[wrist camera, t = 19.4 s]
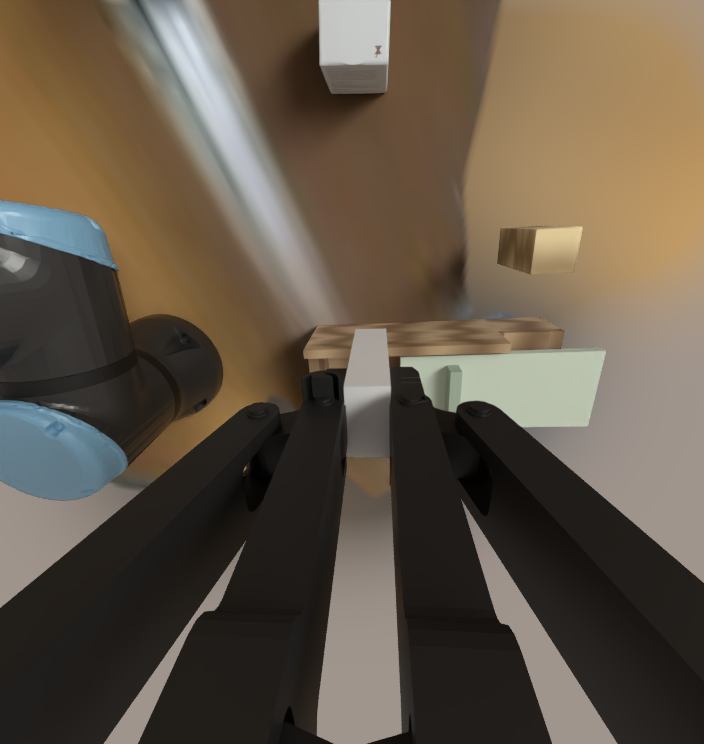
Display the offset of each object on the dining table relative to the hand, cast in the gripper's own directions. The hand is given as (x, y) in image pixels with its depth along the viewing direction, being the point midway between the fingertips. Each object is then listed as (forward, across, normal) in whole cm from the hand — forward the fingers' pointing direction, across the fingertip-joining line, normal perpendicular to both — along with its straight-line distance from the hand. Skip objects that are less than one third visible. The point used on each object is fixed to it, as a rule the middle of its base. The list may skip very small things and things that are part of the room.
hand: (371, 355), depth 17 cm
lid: (+21, +14, -12) cm, 28 cm away
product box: (+29, -1, +22) cm, 36 cm away
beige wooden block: (+29, +17, +3) cm, 34 cm away
